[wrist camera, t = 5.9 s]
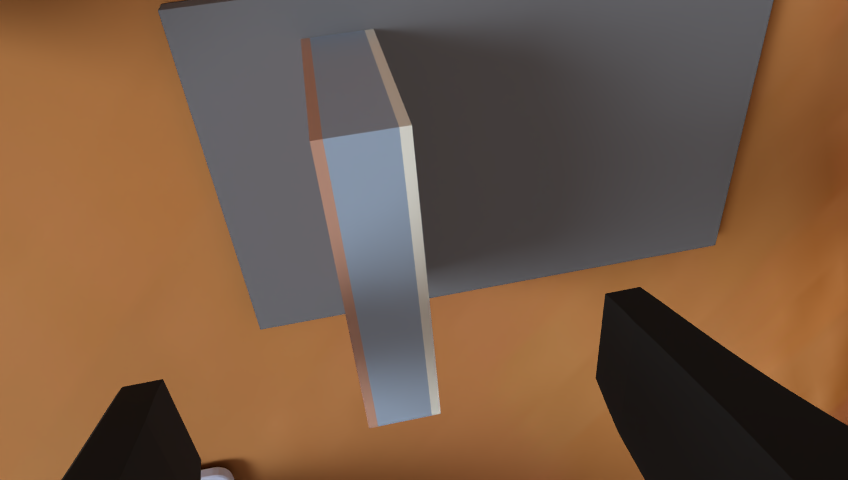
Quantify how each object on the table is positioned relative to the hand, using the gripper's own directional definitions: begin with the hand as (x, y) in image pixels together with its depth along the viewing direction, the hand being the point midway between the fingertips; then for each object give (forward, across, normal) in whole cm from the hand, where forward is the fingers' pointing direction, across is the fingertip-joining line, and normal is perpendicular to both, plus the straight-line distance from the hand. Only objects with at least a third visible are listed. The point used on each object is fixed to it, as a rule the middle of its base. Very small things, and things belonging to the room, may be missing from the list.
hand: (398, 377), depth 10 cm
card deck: (+7, 0, 0) cm, 7 cm away
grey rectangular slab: (+7, -4, 0) cm, 8 cm away
